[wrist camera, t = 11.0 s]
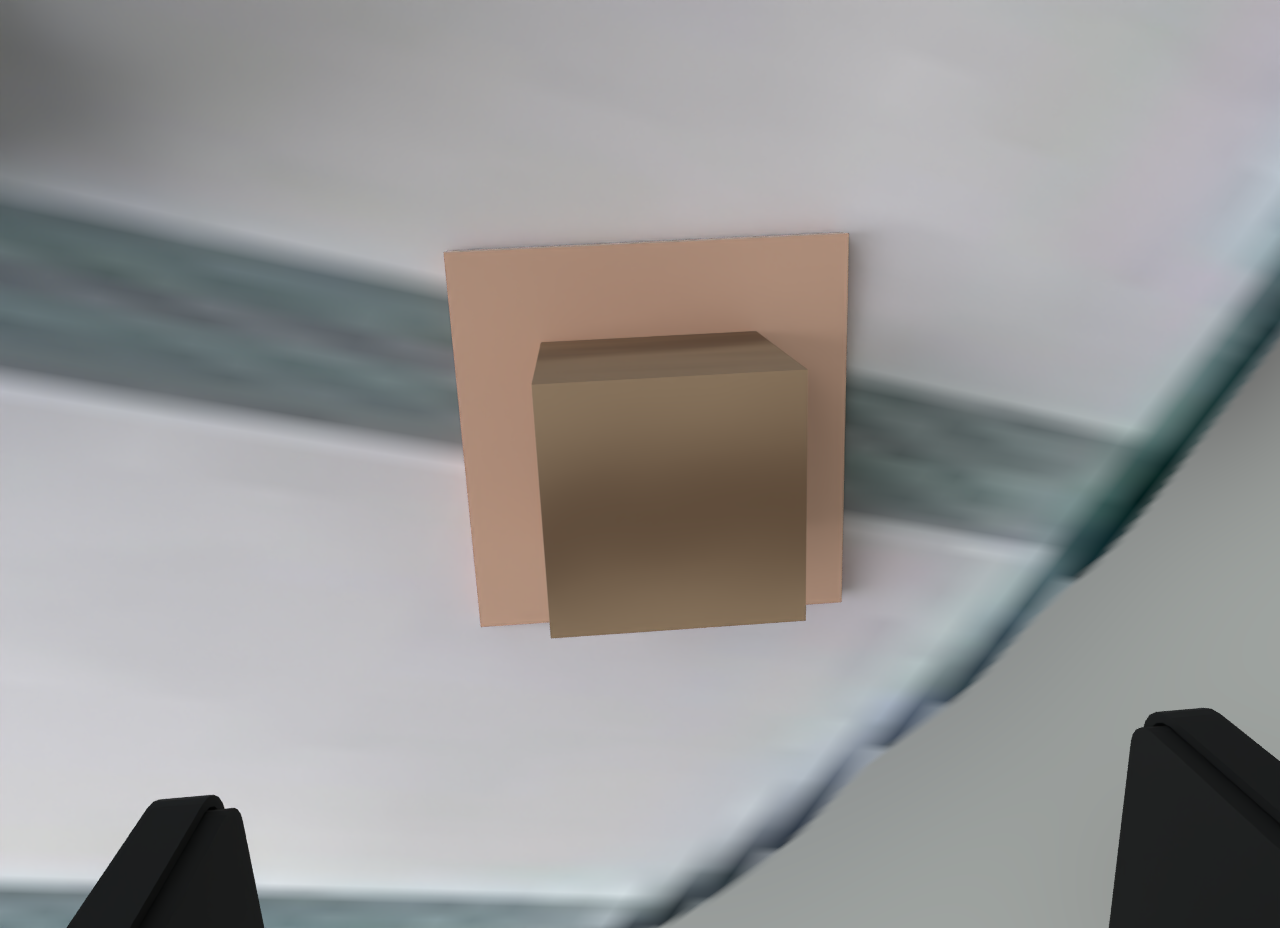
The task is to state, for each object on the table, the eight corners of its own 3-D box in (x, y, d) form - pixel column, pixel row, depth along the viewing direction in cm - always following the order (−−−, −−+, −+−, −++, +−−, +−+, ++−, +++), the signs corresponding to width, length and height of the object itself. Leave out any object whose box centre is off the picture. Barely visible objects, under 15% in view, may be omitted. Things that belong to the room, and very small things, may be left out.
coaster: (447, 250, 26) (443, 252, 25) (841, 232, 26) (849, 233, 25) (483, 615, 29) (480, 627, 28) (834, 591, 29) (841, 602, 28)
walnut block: (540, 342, 26) (531, 384, 20) (755, 331, 26) (807, 369, 20) (555, 545, 27) (550, 638, 22) (757, 532, 28) (805, 620, 22)
